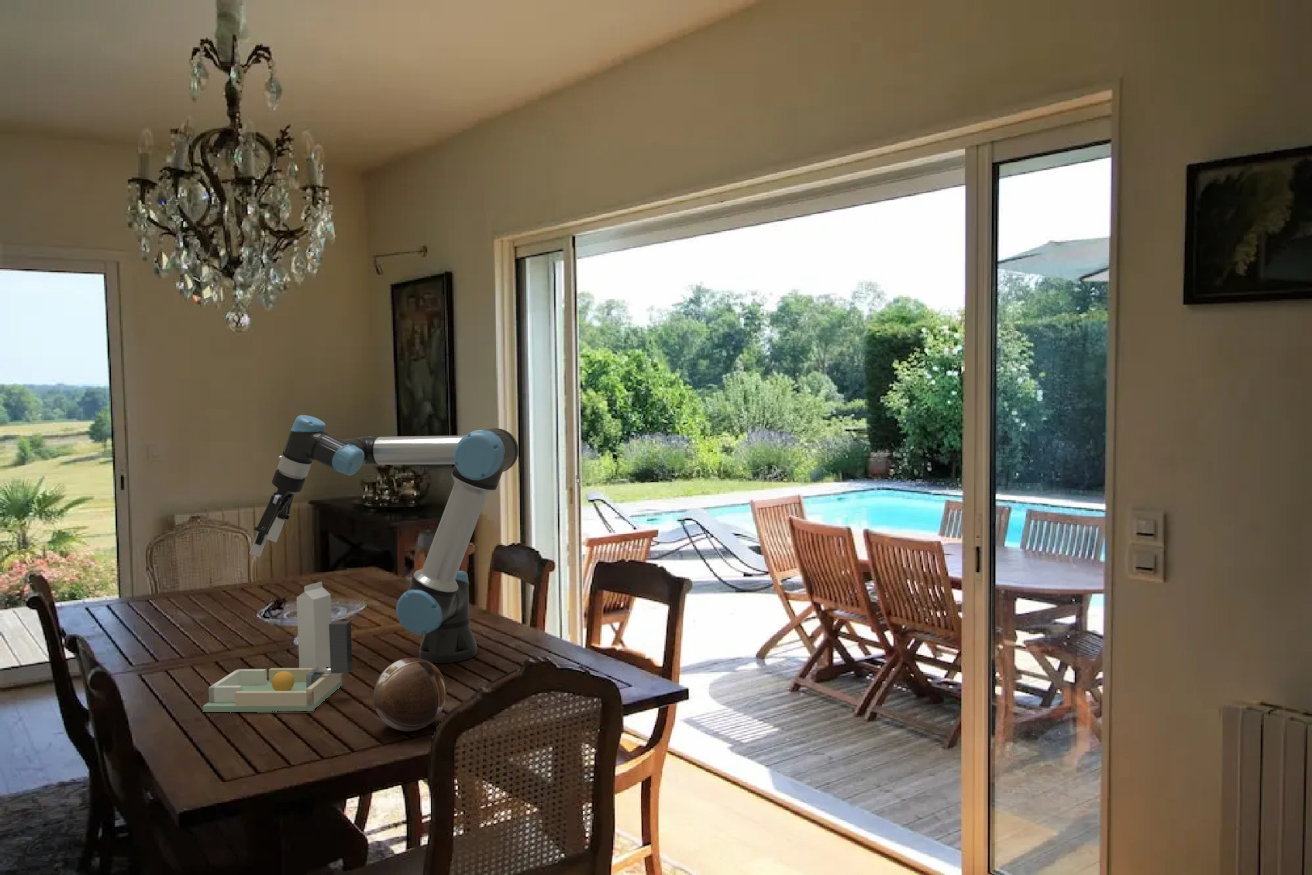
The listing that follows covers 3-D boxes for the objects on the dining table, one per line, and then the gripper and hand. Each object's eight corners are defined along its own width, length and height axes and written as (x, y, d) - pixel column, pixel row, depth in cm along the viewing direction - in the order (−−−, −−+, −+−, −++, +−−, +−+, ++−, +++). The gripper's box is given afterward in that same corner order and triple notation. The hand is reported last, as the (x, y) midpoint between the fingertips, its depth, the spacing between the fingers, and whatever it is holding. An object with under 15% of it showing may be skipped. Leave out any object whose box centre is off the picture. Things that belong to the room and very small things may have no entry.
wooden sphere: (359, 733, 195) (356, 662, 194) (414, 711, 208) (412, 645, 207) (408, 747, 187) (405, 674, 186) (462, 724, 199) (460, 655, 199)
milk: (299, 669, 240) (295, 585, 239) (317, 662, 246) (313, 580, 244) (316, 672, 238) (312, 587, 236) (334, 665, 243) (330, 582, 242)
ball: (298, 688, 220) (297, 668, 220) (289, 695, 215) (288, 674, 215) (277, 688, 220) (276, 668, 220) (268, 696, 215) (267, 674, 215)
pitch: (342, 685, 226) (341, 664, 226) (312, 712, 208) (311, 688, 208) (241, 686, 227) (240, 665, 227) (202, 712, 209) (201, 689, 209)
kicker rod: (355, 686, 220) (353, 619, 219) (346, 694, 214) (343, 625, 213) (316, 686, 220) (314, 619, 219) (306, 694, 214) (303, 626, 213)
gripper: (291, 458, 252) (264, 529, 254) (261, 478, 227) (232, 556, 230) (318, 469, 253) (291, 539, 255) (291, 489, 228) (262, 567, 231)
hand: (263, 547), depth 242 cm, fingers open, 13 cm apart
